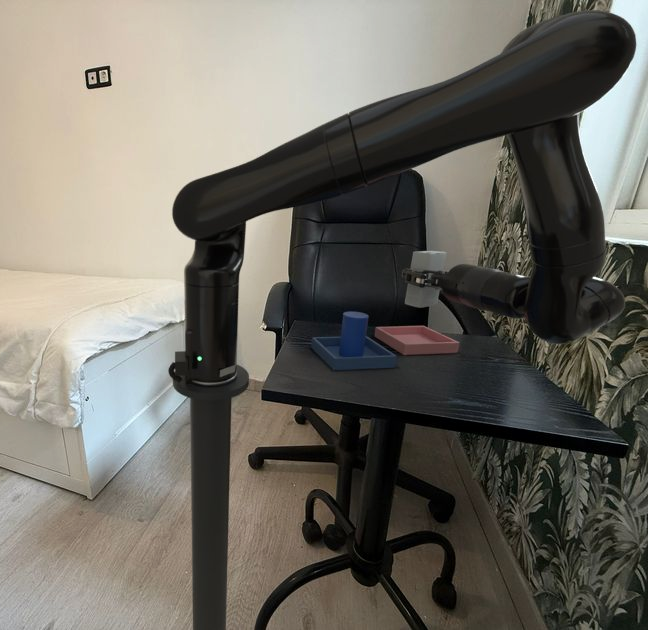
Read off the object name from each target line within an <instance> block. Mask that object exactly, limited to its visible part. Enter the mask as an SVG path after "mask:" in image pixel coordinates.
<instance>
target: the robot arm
mask: <svg viewBox="0 0 648 630" xmlns="http://www.w3.org/2000/svg"><path fill="white" fill-rule="evenodd" d="M636 51H637V36H636V33H635V30H634V28H633V26H632V25H631V23H629V22H628V20H626V19H625V18H624V17H622V16H620V15H619V14H615V13H613V12H608V11H605V10H600V9H583V10H578V11H573V12H569V13H565V14H562V15H558V16H554V17H550V18H547V19H544V20H541V21H539V22H537V23H534V24H531V25H529V26H528V27H526V28H524V29H523V30H521V31H520V32H518V34H517V35H515V36H514V37H513V38H512V39H511V40H510V41H508V43H507V44H506V45H505V46H504V47H503V49H502V51H501V52H500V53H499V54H498V55H496V56H493V57H492V58H489V59H488V60H486V61H483V62H482V63H480V64H478V65H476V66H474V67H473V68H471V69H468V70H467V71H464V72H462V73H459V74H458V75H455V76H453V77H451V78H448V79H445V80H443V81H440V82H438V83H434V84H431V85H427V86H424V87H420V88H418V89H417V88H416V89H413V90H409V91H405V92H403V93H399V94H395V95H393V96H389V97H386V98H383V99H380V100H377V101H374V102H371V103H369V104H366V105H363V106H361V107H358V108H355V109H353V110H350V111H349V112H347V113H344V114H342V115H340V116H337V117H336V118H333V119H330V120H329V121H327V122H325V123H323V124H320V125H318V126H316V127H314V128H312V129H310V130H308V131H307V132H305V133H302V134H300V135H298V136H296V137H294V138H292V139H290V140H288V141H286V142H284V143H281V144H280V145H278V146H276V147H274V148H273V149H271V150H269V151H267V152H265V153H263V154H261V155H260V156H257V157H256V158H253V159H251V160H248V161H246V162H245V163H242V164H238V165H236V166H233V167H230V168H227V169H224V170H221V171H217V172H215V173H212V174H209V175H205V176H201V177H199V178H195V179H194V180H191V181H188V183H186V184H185V185H184V186H183V187H181V189H180V190H179V191H178V193H177V194H176V195H175V198H174V200H173V203H172V208H171V218H172V221H173V224H174V226H175V227H176V229H177V230H178V232H180V233H181V234H182V235H183V236H185V237H186V238H189V239H190V240H193V241H194V248H193V252H192V254H191V257H190V258H189V260H188V261H187V262H186V264H185V265H184V267H183V293H184V294H183V297H184V298H183V300H184V304H183V305H184V321H183V327H184V328H183V329H184V335H183V337H184V350H182V351H181V350H180V351H179V350H178V351H174V361H172V363H170V365H169V367H168V369H167V371H168V372H167V373H168V375H169V377H170V378H171V379H172V380H173V379H174V380H175V381H177V382H178V383H180V382H181V381H182V378H181V377H180V376H182V375H185V378H186V384H195V385H198V386H203V387H219V386H224V385H227V384H230V383H232V382H233V381H234V380H235V379H236V378H237V365H238V336H239V335H238V333H239V332H238V330H239V298H240V297H239V296H240V273H241V270H242V267H243V264H244V260H245V246H246V232H247V222H248V221H251V220H253V219H255V218H258V217H260V216H263V215H266V214H269V213H273V212H276V211H281V210H288V209H292V208H293V209H294V208H297V207H304V206H307V205H312V204H316V203H320V202H324V201H328V200H331V199H336V198H338V197H341V196H344V195H346V194H349V193H353V192H355V191H358V190H361V189H363V188H366V187H369V186H372V185H374V184H376V183H379V182H381V181H384V180H387V179H390V178H392V177H394V176H397V175H400V174H402V173H405V172H407V171H410V170H412V169H414V168H415V169H416V168H417V167H419V166H422V165H425V164H427V163H429V162H431V161H434V160H436V159H438V158H441V157H443V156H445V155H448V154H450V153H452V152H455V151H458V150H461V149H463V148H464V149H465V148H467V147H470V146H473V145H477V144H480V143H484V142H488V141H491V140H495V139H498V138H503V137H507V141H508V143H509V146H510V150H511V153H512V156H513V160H514V165H515V168H516V171H517V172H516V173H517V176H518V181H519V185H520V190H521V196H522V201H523V208H524V215H525V222H526V230H527V237H528V238H527V239H528V245H529V251H530V258H531V263H532V265H531V266H532V267H531V268H532V269H531V272H530V275H529V276H527V275H523V274H518V273H513V272H506V271H503V270H500V269H497V268H493V267H487V266H482V265H481V266H480V265H475V264H469V263H460V264H456V265H454V266H453V267H451V268H450V269H449V270H448V269H444V270H440V271H435V270H424V271H417V270H411V269H410V268H403V269H402V272H401V277H402V279H405V280H404V283H406V284H407V285H408V284H411V285H414V286H418V287H420V288H423V287H432V288H435V289H437V290H440V291H442V293H443V296H445V298H446V299H447V300H449V301H450V302H454V303H457V304H461V305H462V306H463V305H464V306H466V307H470V308H474V309H475V310H480V311H484V312H485V311H486V312H491V313H494V314H497V315H500V316H503V317H507V318H511V319H515V320H516V319H517V320H518V319H519V320H520V319H525V321H526V325H527V327H528V329H530V331H531V332H532V333H533V334H534V335H535V336H536V337H537V338H539V339H541V340H542V341H544V342H545V343H546V342H547V343H549V344H555V345H564V344H565V345H566V344H570V343H572V342H576V341H577V340H580V339H582V338H584V337H585V336H587V335H589V334H590V333H592V332H594V331H596V330H598V329H599V328H602V327H603V326H605V325H607V324H609V323H611V322H612V321H614V320H615V319H617V318H618V317H619V316H620V315H621V314H622V313H623V311H624V310H625V308H626V297H625V296H624V293H623V292H622V291H621V290H620V289H619V288H618V287H617V286H616V285H614V284H612V283H611V282H609V281H608V280H606V279H603V278H600V277H597V275H598V274H599V273H600V272H601V271H602V269H603V268H604V266H605V264H606V259H607V251H606V250H607V249H606V247H607V246H606V245H607V244H606V227H605V226H606V225H605V216H604V215H605V214H604V211H603V206H602V203H601V199H600V196H599V191H598V189H597V186H596V184H595V182H594V179H593V176H592V173H591V172H590V169H589V165H588V162H587V161H586V158H585V154H584V152H583V151H584V150H583V145H582V142H581V136H580V135H581V134H580V127H579V114H580V113H582V112H583V111H585V110H587V109H589V108H591V107H592V106H593V105H595V104H596V103H598V102H599V101H601V100H602V98H604V97H605V96H606V95H608V94H609V93H610V92H611V91H612V90H613V89H614V88H615V87H616V86H617V84H618V83H619V82H620V81H621V80H622V79H623V77H624V76H625V75H626V73H627V71H628V69H629V68H630V67H631V63H632V62H633V60H634V57H635V54H636ZM429 273H433V274H432V275H431V278H428V275H429ZM174 372H175V373H174Z"/></svg>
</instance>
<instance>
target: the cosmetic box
mask: <svg viewBox="0 0 648 630" xmlns="http://www.w3.org/2000/svg"><path fill="white" fill-rule="evenodd" d="M447 255H448V254H447V252H446V251H441V250H440V251H438V250H422V251H413V252H412V258H411V262H410V268H409V269H411V270H417V271H424V270H435V271H440V270H445V264H446V258H447ZM432 274H433V273H429V275H428V278H431V275H432ZM440 292H441V290H437V289H435V288H432V287H423V288H420V287H418V286H414V285H411V284H408V283H407V287H406V292H405V299H404V304H405V305H407V306H411V307H414V308H419V309H421V308H427V307H432V306H437V305H438V301H439V296H440Z"/></svg>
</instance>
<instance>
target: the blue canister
mask: <svg viewBox="0 0 648 630" xmlns="http://www.w3.org/2000/svg"><path fill="white" fill-rule="evenodd" d="M369 317H370V316H369V315H368V314H367V313H364V312H359V311H344V312H343V313H342V321H341V331H340V337H341V338H340V347H339V355H340V356H342V357H362V356H363V354H364V347H365V340H366V336H367V332H368V331H367V330H368V323H369Z"/></svg>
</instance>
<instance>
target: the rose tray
mask: <svg viewBox="0 0 648 630" xmlns="http://www.w3.org/2000/svg"><path fill="white" fill-rule="evenodd" d="M374 338H376V339H378V340H379V341H381V342H383V343H384V344H386V345H387V346H389V347H391V348H392V349H394V350H395V351H397V352H399V353H400V354H401V355H403V356H409V355H411V356H412V355H413V356H414V355H415V356H416V355H435V354H436V355H437V354H457V353H458V352H459V347H460V342H459V341H457V340H455V339H454V338H451V337H449V336H447V335H444V334H443V333H440V332H438V331H436V330H434V329H431V328H430V327H427V326H425V325H403V326H402V325H399V326H398V325H397V326H375V328H374Z"/></svg>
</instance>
